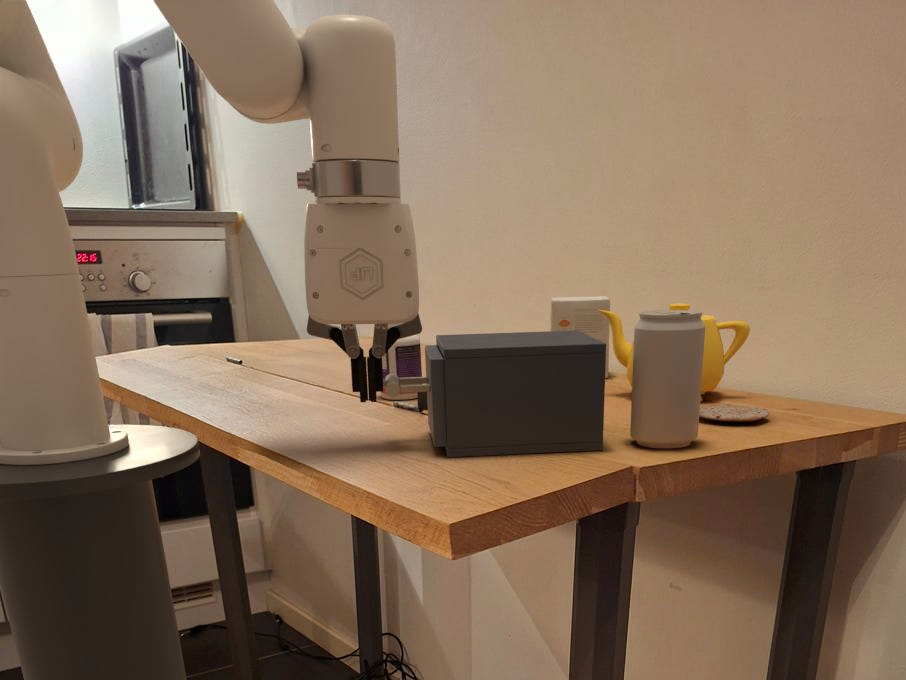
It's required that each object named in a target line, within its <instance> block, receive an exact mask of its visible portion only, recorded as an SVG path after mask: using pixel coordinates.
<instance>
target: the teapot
mask: <svg viewBox="0 0 906 680" xmlns="http://www.w3.org/2000/svg"><path fill="white" fill-rule="evenodd" d="M690 307H691V304H689V303H682V302H681V303H671V304H669V305H668V310H690ZM598 310H599V309H598ZM599 311H600V312H601V313H602V314H604V315H605V316H606V317H607V319H608V320H609V322H610V329H611V338H612V349H613V352H614V355H615V358H616V359H617V361H618V363H620V365H622V366H623V367H625V368H626V378H627V380H628V383H629V385H630V387H631V388H632V378H633V353H634V339H633V341H632V343H631V344H630V343H629V342H628V341H627V340H626V338H625V336H624V330H623V329H624V328H623V324H622V319H621V318H620V316H619V314H618V313H616V312H613V311H611V310H610V311H605V310H599ZM701 319H702V321H703V323H704V325H705V341H704V355H703V369H702V383H701V395H705V394H706V392H712V391H715V390H716V389H717V387H718V385H719V384H720V382H721V380H722V378H723V376H724V374H725V366H726V365H727V363H728V362H729V361H730V360H731V359H732V358H733V357H734V356H735V355H736V354H737V352H738V351H739V350H741V348H742V347H743V345H744V344H745V342H746V341H747V339H748V337H749V335H750V331H751V326H750V324H749V323H748V322H746V321H744V320H730V321H729V320H728V321H722V322H717V319H716V317H715V316H713V315H707V314H706V315H705V314H702V316H701ZM720 330H734V332H735V334H734V338H733V340H732V342H731V344H730V346H729V348H728V349H727V351H726V352H724V345H723V340H722V336H721V333H720ZM700 402H703V397H702V396H701V397H700Z"/></svg>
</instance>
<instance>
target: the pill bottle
mask: <svg viewBox="0 0 906 680" xmlns="http://www.w3.org/2000/svg"><path fill="white" fill-rule="evenodd" d="M398 324H401V323H396V324H388V328H389V327H390V326H394V325H398ZM388 328H387V329H388ZM382 369H383V392H380V396H381V398H383V399H384V400H388V401H389V400H390V401H391V400H392V401H393V400H394V401H402V400H403V401H404V400H405V401H406V400H414V399H415V400H416V399H418V396H417V392H406V393H401V392H400V394H399V395H398V396H397V397H395V398H391V397H389V396H388V395H387V394H386V392H385V378H386V376H387V375H388V374H395V375H397V376H398V378H407V377H423V368H422V350H421V339H420V337H419V335H418V334H417V335H413V336H409V337H406V338H401V339H398V340H397V341H396V342H395V343H394V344H393V345H392V346H391V348H390V349H389V350H388V351H387V352H386V353H385V354H384V356H383V357H382ZM406 385H422V384H406Z"/></svg>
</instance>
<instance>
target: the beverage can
mask: <svg viewBox="0 0 906 680" xmlns="http://www.w3.org/2000/svg"><path fill="white" fill-rule="evenodd" d="M702 315H703V312H702V311H700V310H690V309H689V310H669V309H655V310H645V311H640V312H639V313H638V317H639V319H638V321H637V323H636V324H635V326H634V328H633V329H634V330H633V332H634V333H633V336H634V337H633V340H634V353H633V378H632V387H631V404H630V406H631V407H630V428H629V430H630V431H629V435H630V438H632V439H633V440H634V441H635V442H636V444H637V445H639V446H641V447H645V448H650V449H651V448H652V449H681V448H686V447H688V446H690V445H691V442H693V441H694V440H696V439H697V438H698V436H699V426H700V425H699V424H700V417H699V411H700V408H701V401H700V397H702V394H701V383H702V369H703V355H704V341H705V325H704V323H703V321H702V319H701V316H702Z"/></svg>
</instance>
